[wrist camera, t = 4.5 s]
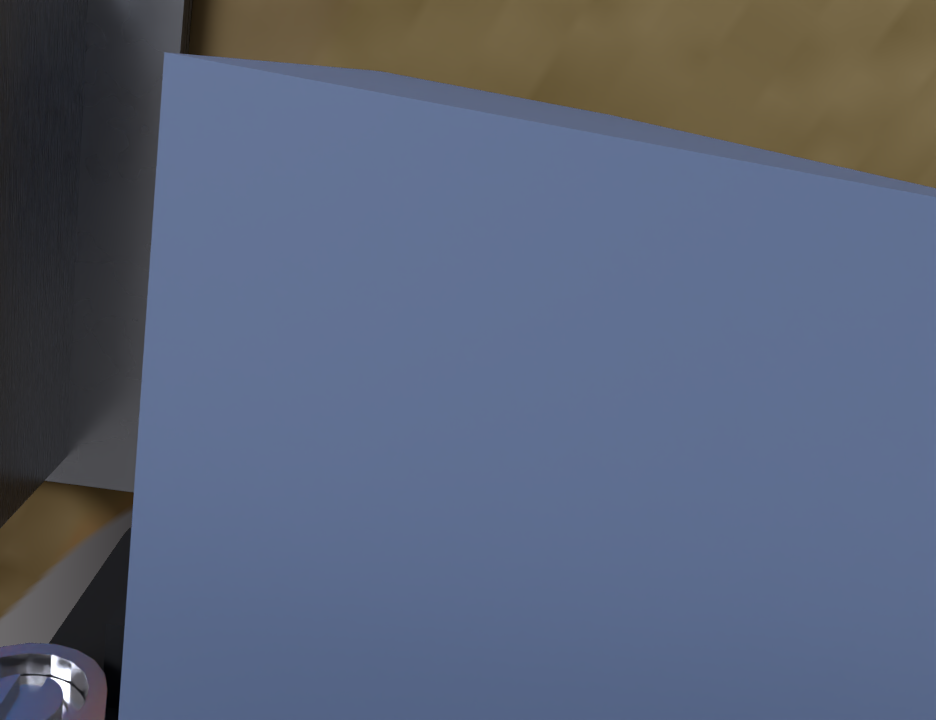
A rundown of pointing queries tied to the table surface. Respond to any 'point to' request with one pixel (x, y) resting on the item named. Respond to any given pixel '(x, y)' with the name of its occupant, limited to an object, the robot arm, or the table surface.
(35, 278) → the book rack
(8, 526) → the table surface
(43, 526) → the table surface
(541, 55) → the table surface
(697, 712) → the book
